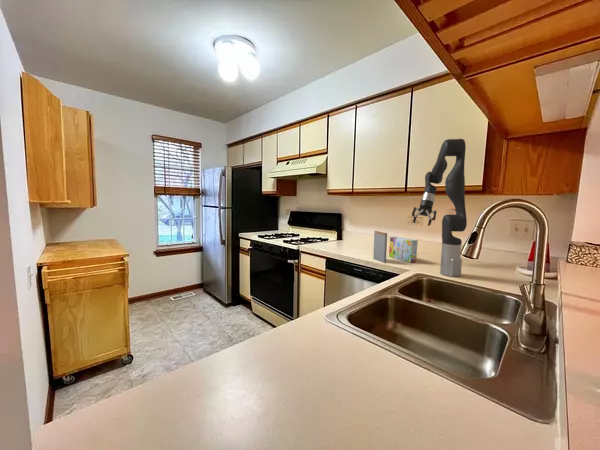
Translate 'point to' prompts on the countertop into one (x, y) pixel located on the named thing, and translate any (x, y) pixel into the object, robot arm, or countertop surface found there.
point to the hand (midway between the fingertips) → (421, 224)
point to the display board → (380, 246)
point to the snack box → (403, 249)
